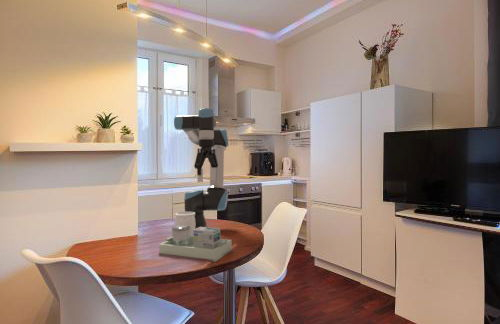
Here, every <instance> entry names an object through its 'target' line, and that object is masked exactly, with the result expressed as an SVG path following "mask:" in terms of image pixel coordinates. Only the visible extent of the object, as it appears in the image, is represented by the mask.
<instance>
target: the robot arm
mask: <svg viewBox="0 0 500 324" xmlns="http://www.w3.org/2000/svg"><path fill="white" fill-rule="evenodd" d="M214 115H215V114H214V110H213V109H212V108H210V107H209V108H208V107H203V108H199V109H198V114H197V115H176V116H174V118H173V119H174V120H173V125H174V128H175V130H179V131H181V130H182V131H183V132H184V133H185V134H186V135H187V136H188V140H189V141H190V142H191V143H193V144H194V145H197V146H198V147H199V148H197V152H196V153H197V154H196V156H195V161H194V169H196V170H197V171H196V175H197V179H196V180H197V183H203V182H204V168H203V165H204V163H205V161H206V159H208V163H209V164H210V165H209V167H210V168H209V186H208V187H207V189H206V191H205V190H204V189H203V188H202V189H193V190H189V191H186V192H185V193H184V200H183V201H184V212H195V215H194V217H195V223H196V226H195V229H196V228H199V227H207V226H208V225H207V221H206V220H207V219H206V218H205V215H204V214H205V213H204V212H205V211H210V212H211V211H217V212H218V211H225V210H226V209H227V206H228V205H227V204H228V199H229V198H228V197H229V191H226V190H227V189H226V187H224V165H225V164H224V163H225V162H224V161H225V160H224V159H225V158H224V157H225V151H226V150H227V147H229V138H228V137H229V136H228V132H227V129H224V128H216V126H217V120H216V118H215V117H214Z"/></svg>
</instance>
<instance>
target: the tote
mask: <svg viewBox="0 0 500 324" xmlns="http://www.w3.org/2000/svg"><path fill="white" fill-rule="evenodd" d="M232 244H233V243H232V239H226V238H225V239H224V238H220V243H219V244H218V247H217V248H215V249H205V248H196V247H193V236H190V247H187V246H178V245H172V236H170V237H167V238H166V239H165V241H163V242H161V243H158V253H159V254H164V255H172V256H179V257H188V258H194V259H195V258H196V259H204V260H205V259H206V260H208V262H210V263H215V262H217V261H218V260H220V259H222V258H223V257H225V256H226V255H227V254H230V252H232V250H233V249H232V248H233V246H232Z"/></svg>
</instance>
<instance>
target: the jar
mask: <svg viewBox="0 0 500 324" xmlns="http://www.w3.org/2000/svg"><path fill="white" fill-rule="evenodd" d="M194 215H195V212H185V211H179V212H178V211H177V212H175V214H174V216H175V220H174V221H175V222H174V227H175V226H189V227H190V236H193V229H195V226H196V223H195V217H194Z"/></svg>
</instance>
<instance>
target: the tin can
mask: <svg viewBox="0 0 500 324" xmlns="http://www.w3.org/2000/svg"><path fill="white" fill-rule="evenodd" d="M171 234H172V235H171V237H172V245H178V246H187V247H190V227H189V226H175V225H174V226H172V227H171Z"/></svg>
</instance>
